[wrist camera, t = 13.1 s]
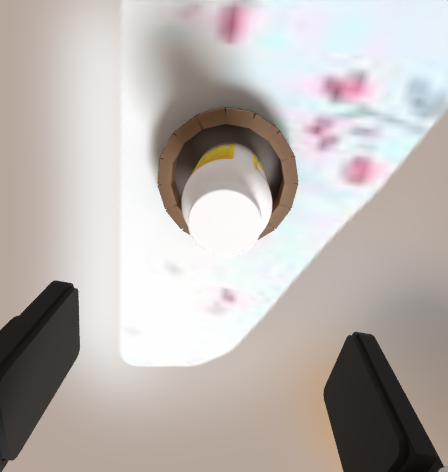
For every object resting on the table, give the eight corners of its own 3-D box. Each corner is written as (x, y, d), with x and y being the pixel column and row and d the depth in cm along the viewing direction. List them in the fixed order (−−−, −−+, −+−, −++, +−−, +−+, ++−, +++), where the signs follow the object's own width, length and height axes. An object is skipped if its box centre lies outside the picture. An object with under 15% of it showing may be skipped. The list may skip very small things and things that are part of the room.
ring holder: (171, 95, 29) (164, 96, 27) (308, 122, 30) (314, 124, 27) (159, 224, 35) (153, 233, 32) (275, 244, 35) (278, 255, 33)
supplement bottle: (186, 189, 32) (154, 244, 21) (214, 128, 30) (196, 151, 18) (244, 218, 33) (245, 286, 22) (276, 161, 31) (298, 203, 19)
